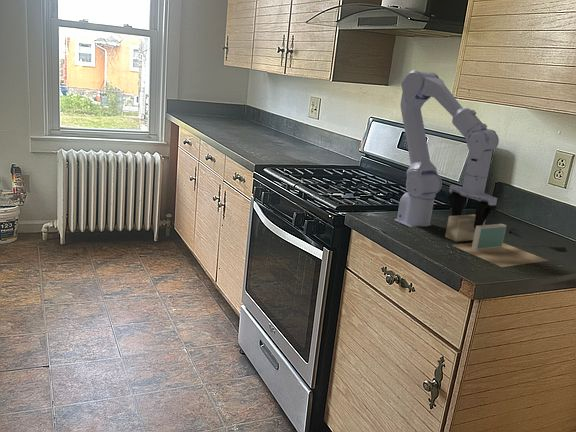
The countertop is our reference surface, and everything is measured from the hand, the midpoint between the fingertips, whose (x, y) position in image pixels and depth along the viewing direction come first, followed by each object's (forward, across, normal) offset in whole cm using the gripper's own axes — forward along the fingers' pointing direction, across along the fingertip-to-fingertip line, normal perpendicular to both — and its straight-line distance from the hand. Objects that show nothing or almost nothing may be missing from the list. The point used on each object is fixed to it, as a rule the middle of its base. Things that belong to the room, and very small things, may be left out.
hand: (466, 224), depth 149 cm
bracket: (+6, +5, +21) cm, 22 cm away
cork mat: (+5, +12, 0) cm, 13 cm away
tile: (+4, +8, 0) cm, 9 cm away
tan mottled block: (+5, 0, 0) cm, 5 cm away
